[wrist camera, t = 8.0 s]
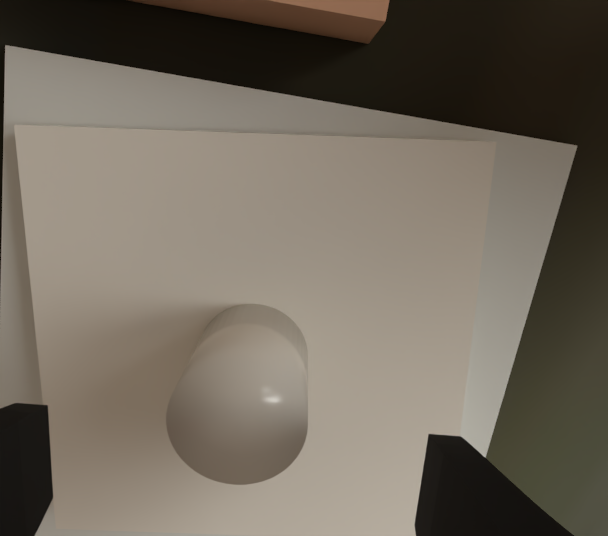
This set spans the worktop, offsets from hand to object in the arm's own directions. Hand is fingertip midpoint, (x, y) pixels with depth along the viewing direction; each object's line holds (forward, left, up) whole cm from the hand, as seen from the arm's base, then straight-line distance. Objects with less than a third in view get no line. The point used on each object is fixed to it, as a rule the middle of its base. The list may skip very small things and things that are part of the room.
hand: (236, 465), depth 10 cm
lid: (0, 0, -5) cm, 5 cm away
